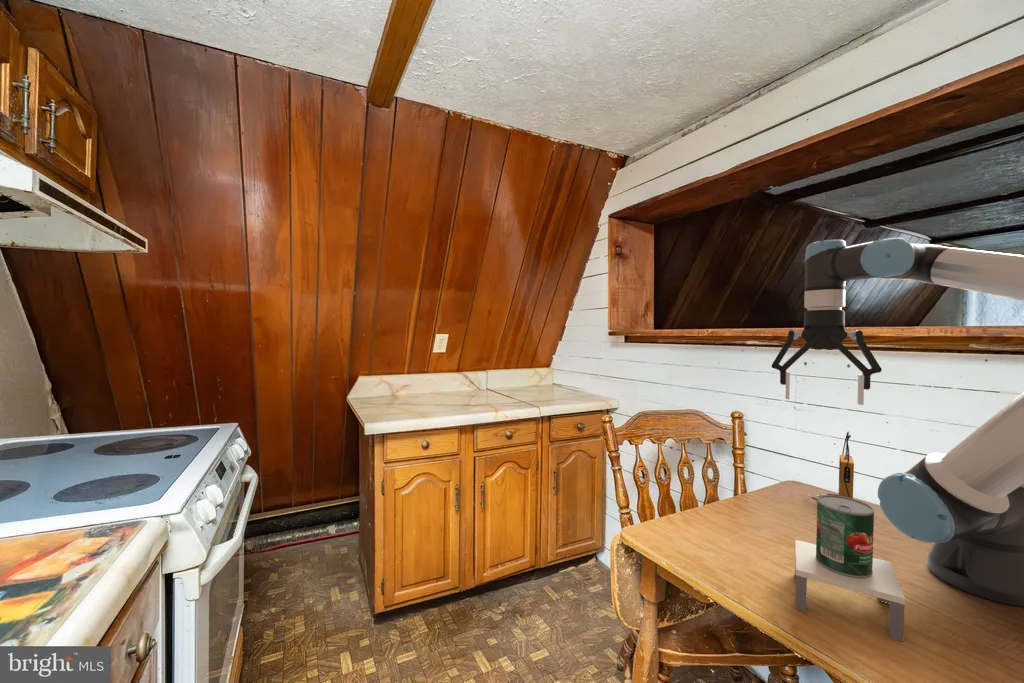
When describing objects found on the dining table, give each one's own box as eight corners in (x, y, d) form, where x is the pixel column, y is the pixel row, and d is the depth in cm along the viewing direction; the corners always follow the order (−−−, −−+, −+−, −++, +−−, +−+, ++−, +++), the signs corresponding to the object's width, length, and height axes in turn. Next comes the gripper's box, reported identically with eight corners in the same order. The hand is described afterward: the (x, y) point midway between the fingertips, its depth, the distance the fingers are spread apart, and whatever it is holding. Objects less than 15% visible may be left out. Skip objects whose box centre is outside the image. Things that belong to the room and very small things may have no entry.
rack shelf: (888, 599, 75) (890, 561, 75) (903, 642, 65) (905, 598, 65) (794, 574, 83) (795, 539, 83) (795, 608, 73) (796, 569, 73)
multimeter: (806, 490, 125) (808, 423, 124) (850, 498, 119) (852, 428, 118) (806, 507, 113) (808, 434, 112) (853, 517, 107) (856, 440, 106)
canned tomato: (817, 548, 79) (818, 491, 79) (872, 563, 74) (874, 502, 74) (813, 567, 73) (815, 505, 73) (873, 584, 68) (875, 518, 68)
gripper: (893, 308, 93) (891, 403, 93) (762, 311, 107) (761, 394, 107) (900, 307, 86) (898, 409, 87) (760, 310, 100) (759, 398, 101)
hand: (822, 401), depth 97 cm, fingers open, 13 cm apart
